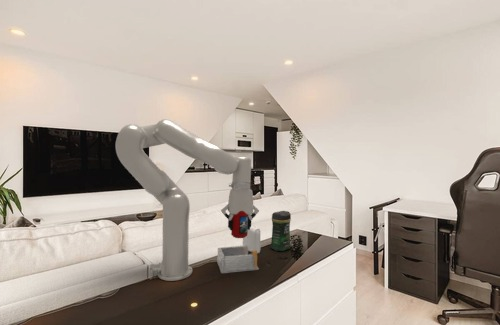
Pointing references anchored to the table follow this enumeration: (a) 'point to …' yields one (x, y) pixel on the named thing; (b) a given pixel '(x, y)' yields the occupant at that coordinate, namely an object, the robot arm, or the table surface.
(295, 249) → the table surface
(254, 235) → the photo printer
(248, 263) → the grey open box
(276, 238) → the coffee jar
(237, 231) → the beverage can
